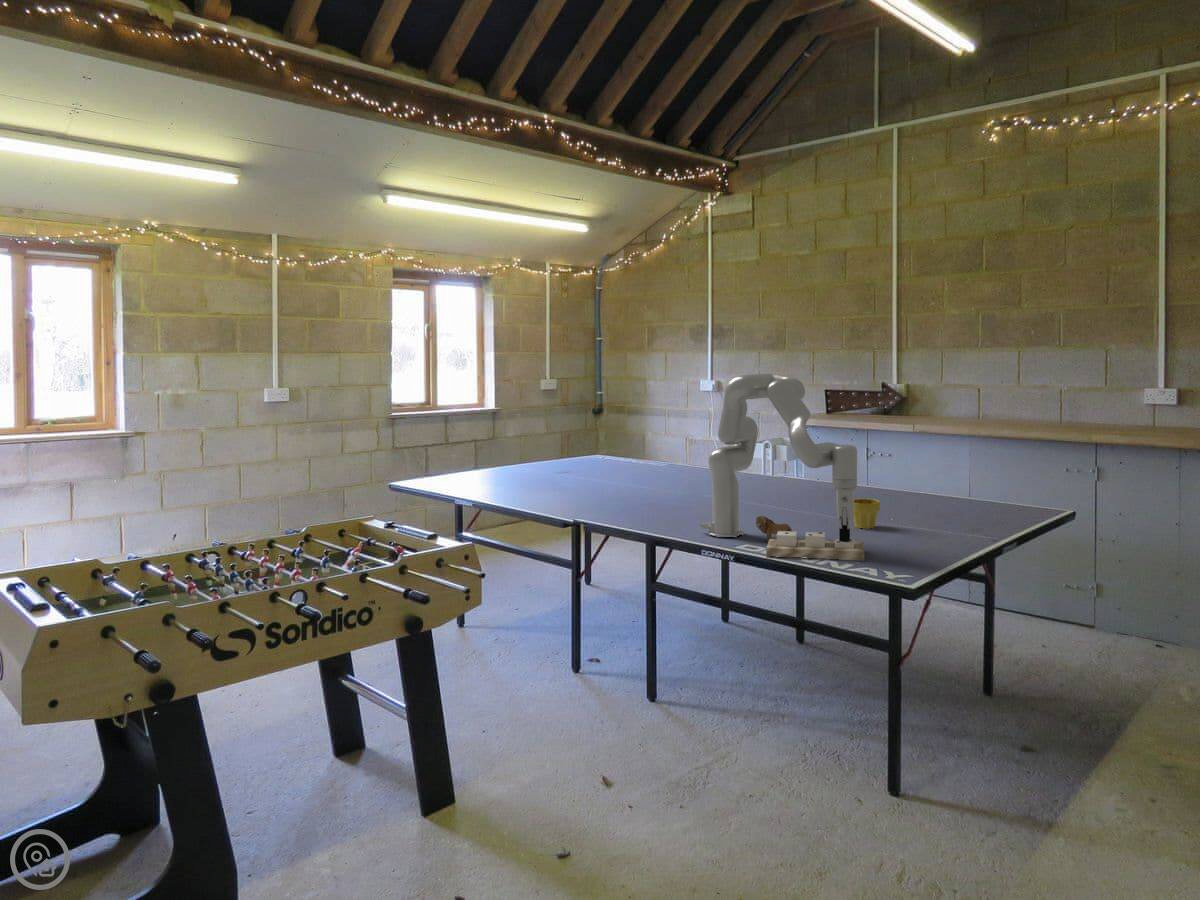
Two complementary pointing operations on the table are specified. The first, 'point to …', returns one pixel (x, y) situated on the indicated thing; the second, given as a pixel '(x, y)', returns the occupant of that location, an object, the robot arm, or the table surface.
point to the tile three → (844, 544)
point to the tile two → (815, 539)
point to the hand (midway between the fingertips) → (844, 540)
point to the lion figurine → (770, 526)
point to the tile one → (786, 538)
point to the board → (816, 551)
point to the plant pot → (865, 512)
